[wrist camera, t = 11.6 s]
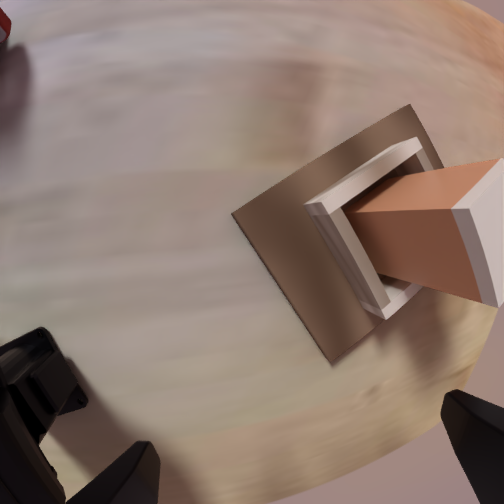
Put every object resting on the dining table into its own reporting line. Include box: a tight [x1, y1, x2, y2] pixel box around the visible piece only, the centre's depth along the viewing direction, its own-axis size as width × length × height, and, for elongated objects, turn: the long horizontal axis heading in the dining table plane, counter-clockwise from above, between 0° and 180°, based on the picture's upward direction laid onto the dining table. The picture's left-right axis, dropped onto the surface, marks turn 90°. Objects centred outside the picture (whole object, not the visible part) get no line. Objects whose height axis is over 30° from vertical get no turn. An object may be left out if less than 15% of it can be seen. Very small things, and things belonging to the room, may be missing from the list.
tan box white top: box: [343, 158, 504, 308], centre depth 15 cm, size 5×5×11 cm
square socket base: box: [231, 104, 444, 362], centre depth 20 cm, size 16×12×4 cm
